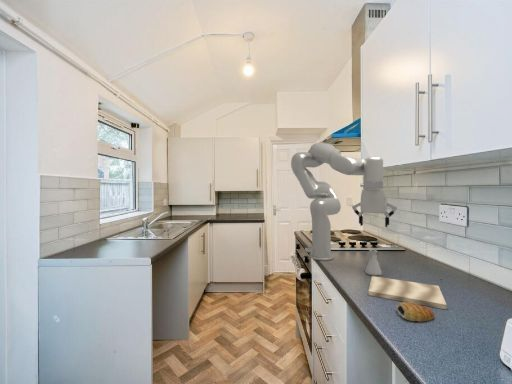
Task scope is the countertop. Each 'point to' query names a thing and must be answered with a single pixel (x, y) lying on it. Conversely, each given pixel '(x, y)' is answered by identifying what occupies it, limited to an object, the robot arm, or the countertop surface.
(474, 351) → the countertop surface
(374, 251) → the flask
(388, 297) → the birch board
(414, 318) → the pastry
